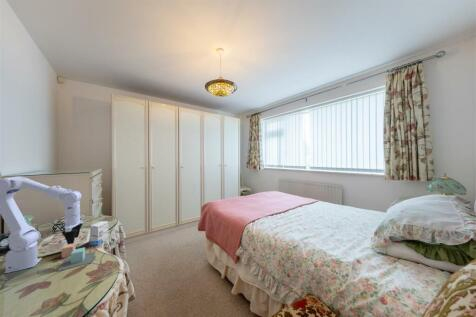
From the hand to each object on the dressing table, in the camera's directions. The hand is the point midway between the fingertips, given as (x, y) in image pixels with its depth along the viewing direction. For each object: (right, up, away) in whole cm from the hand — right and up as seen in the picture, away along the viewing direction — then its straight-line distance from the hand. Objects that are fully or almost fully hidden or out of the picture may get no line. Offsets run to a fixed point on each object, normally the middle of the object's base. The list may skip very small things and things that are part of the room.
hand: (73, 240), depth 92 cm
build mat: (+5, -9, -2) cm, 11 cm away
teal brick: (+5, -9, -2) cm, 10 cm away
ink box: (0, -9, +17) cm, 20 cm away
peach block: (-6, -9, +3) cm, 11 cm away
